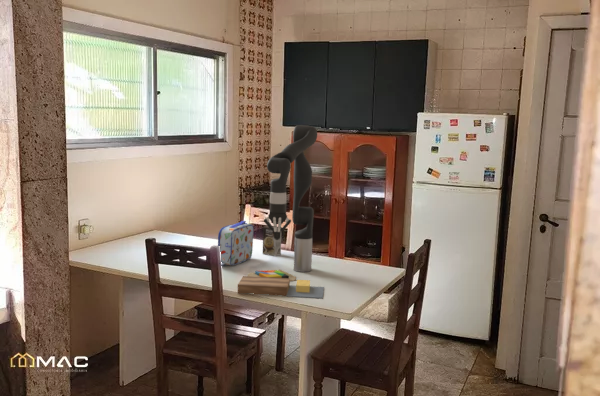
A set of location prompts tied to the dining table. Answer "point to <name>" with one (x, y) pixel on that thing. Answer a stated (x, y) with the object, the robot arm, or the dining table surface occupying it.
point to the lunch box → (236, 243)
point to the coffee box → (271, 242)
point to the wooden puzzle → (273, 274)
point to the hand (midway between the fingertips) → (277, 239)
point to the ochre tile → (303, 286)
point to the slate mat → (313, 293)
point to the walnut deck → (264, 285)
